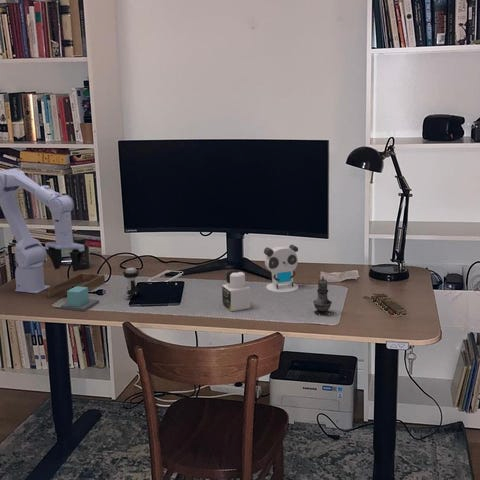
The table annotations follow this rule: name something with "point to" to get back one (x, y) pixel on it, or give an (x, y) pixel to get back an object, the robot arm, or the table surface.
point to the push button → (131, 281)
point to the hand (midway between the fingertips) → (66, 269)
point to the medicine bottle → (236, 291)
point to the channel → (91, 280)
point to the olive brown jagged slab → (388, 304)
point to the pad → (83, 307)
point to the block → (77, 296)
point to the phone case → (164, 273)
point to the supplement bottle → (86, 255)
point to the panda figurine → (281, 268)
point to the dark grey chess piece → (322, 299)
